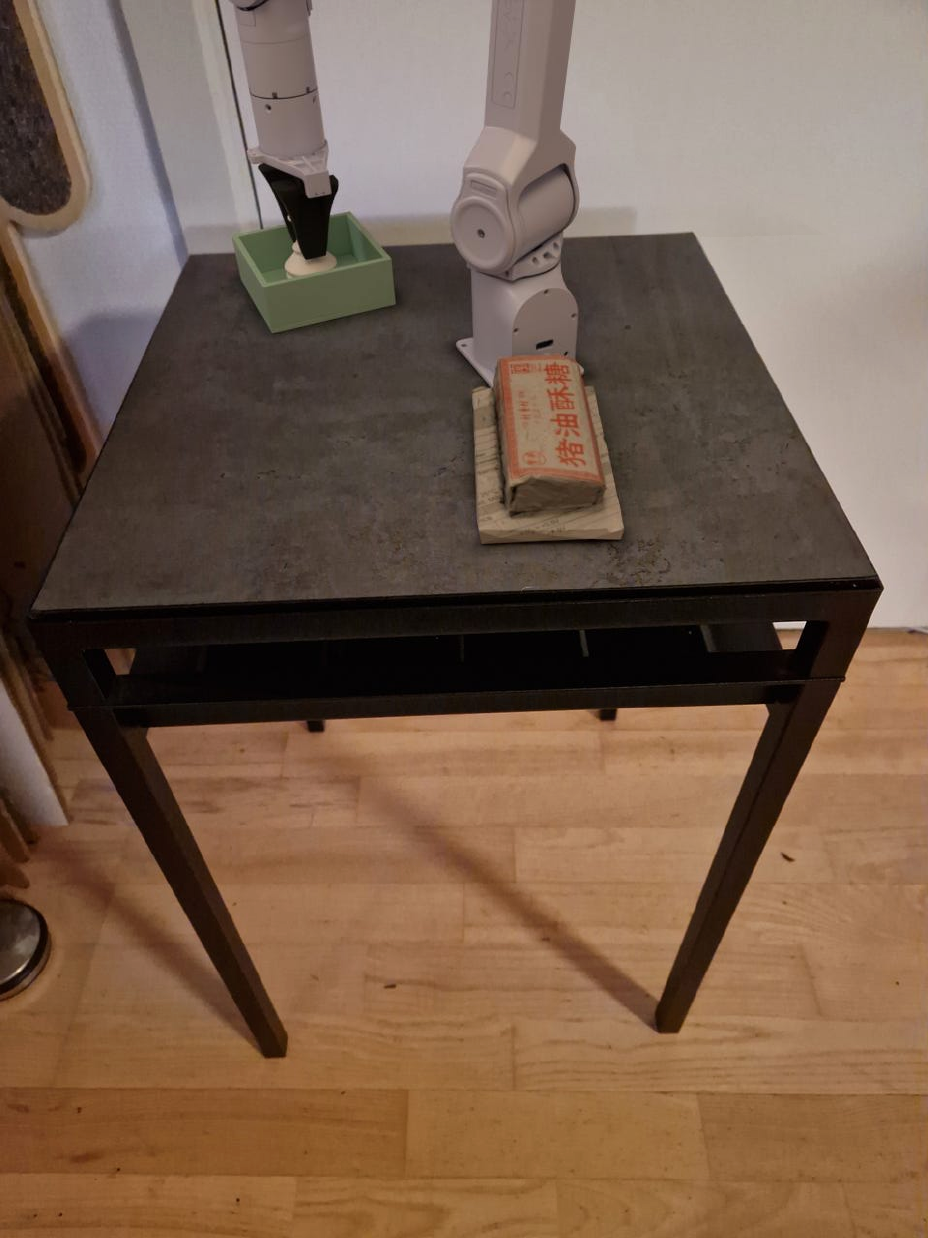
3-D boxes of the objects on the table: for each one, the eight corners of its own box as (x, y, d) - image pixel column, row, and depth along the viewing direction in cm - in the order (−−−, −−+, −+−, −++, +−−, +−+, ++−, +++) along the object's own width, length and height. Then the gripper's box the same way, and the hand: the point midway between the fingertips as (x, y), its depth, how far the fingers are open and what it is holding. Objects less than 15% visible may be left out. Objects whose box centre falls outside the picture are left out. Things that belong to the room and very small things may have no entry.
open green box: (395, 304, 85) (391, 258, 82) (272, 333, 82) (262, 286, 79) (355, 254, 93) (349, 210, 90) (240, 279, 90) (230, 234, 87)
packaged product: (470, 349, 70) (597, 344, 70) (471, 402, 73) (592, 398, 73) (476, 492, 57) (631, 486, 57) (477, 549, 61) (624, 543, 61)
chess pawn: (280, 289, 85) (262, 191, 79) (296, 265, 89) (279, 170, 82) (331, 291, 85) (316, 193, 78) (344, 268, 88) (332, 172, 82)
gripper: (217, 73, 79) (249, 228, 88) (258, 122, 69) (289, 289, 79) (294, 61, 80) (317, 214, 90) (345, 107, 71) (364, 272, 81)
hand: (309, 248), depth 85 cm, fingers closed on chess pawn, 3 cm apart
